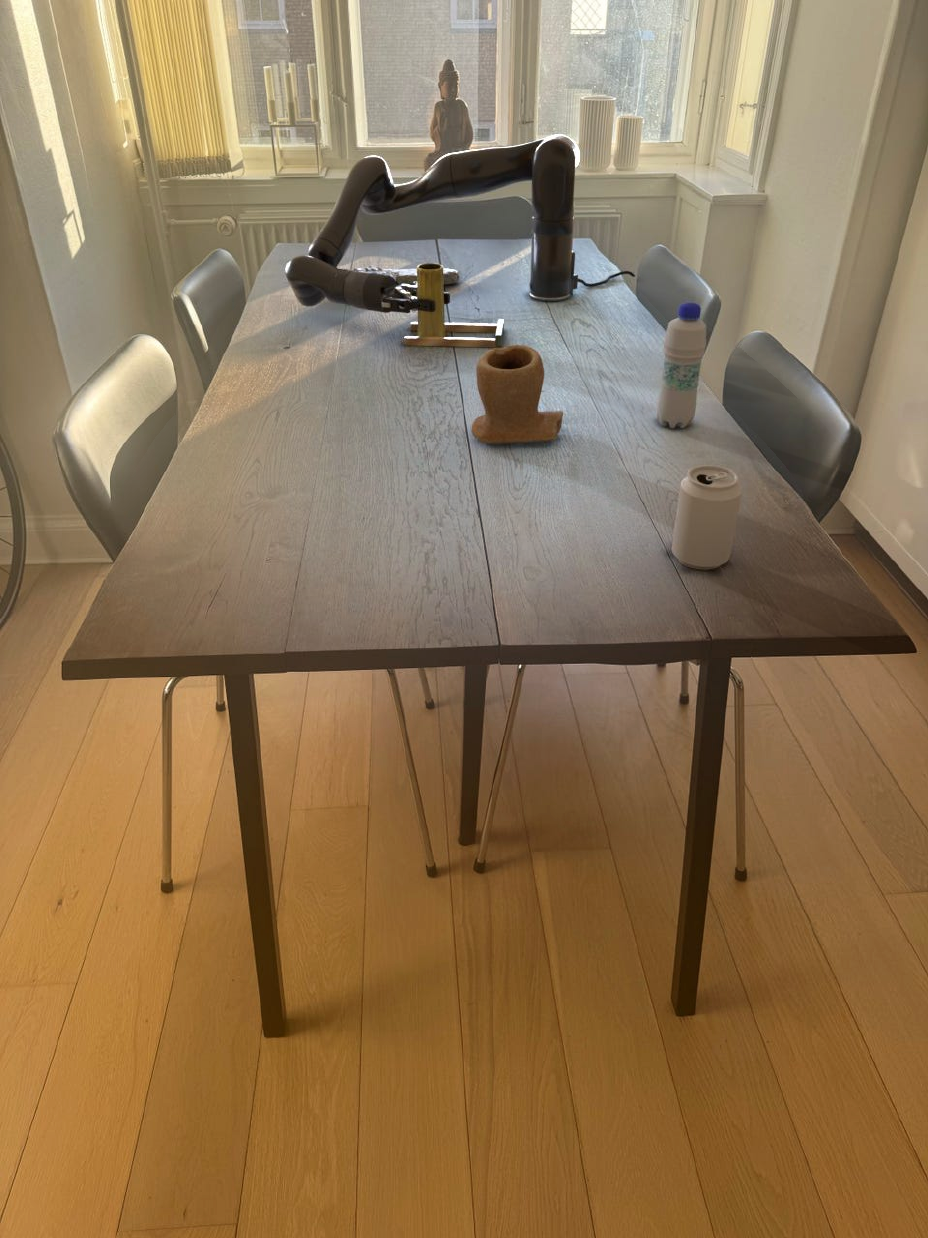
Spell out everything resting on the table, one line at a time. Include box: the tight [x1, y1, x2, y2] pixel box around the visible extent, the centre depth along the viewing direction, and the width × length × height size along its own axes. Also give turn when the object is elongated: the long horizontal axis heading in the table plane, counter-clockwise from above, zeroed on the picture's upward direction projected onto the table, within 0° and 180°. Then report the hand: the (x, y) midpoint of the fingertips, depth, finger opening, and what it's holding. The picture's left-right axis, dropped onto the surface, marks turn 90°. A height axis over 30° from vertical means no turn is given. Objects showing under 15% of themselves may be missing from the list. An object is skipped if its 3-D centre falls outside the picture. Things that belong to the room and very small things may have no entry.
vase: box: [416, 262, 447, 337], centre depth 192 cm, size 6×6×14 cm
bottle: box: [656, 301, 707, 429], centre depth 154 cm, size 7×7×20 cm
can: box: [670, 464, 743, 571], centre depth 120 cm, size 8×8×12 cm
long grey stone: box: [344, 265, 461, 286], centre depth 226 cm, size 35×5×10 cm
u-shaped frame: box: [403, 318, 505, 349], centre depth 195 cm, size 20×10×2 cm, turn 85°
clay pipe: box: [470, 344, 564, 445], centre depth 150 cm, size 15×12×15 cm
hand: (441, 302), depth 191 cm, fingers closed on vase, 5 cm apart
